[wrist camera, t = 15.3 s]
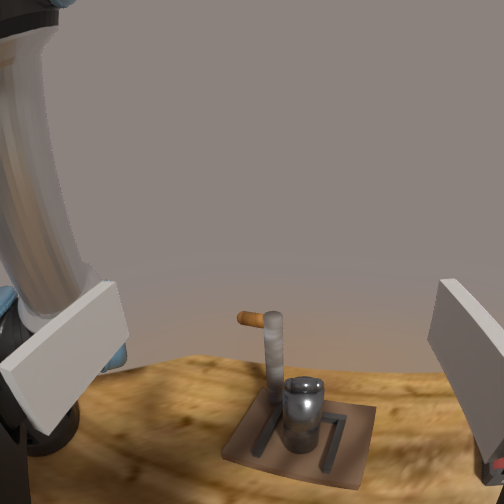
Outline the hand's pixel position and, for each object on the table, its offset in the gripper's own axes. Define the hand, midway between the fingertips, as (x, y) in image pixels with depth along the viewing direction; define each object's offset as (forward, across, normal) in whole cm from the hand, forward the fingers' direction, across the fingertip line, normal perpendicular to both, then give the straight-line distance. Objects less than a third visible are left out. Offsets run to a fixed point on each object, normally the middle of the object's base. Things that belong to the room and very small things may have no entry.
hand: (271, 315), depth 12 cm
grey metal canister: (+15, +1, -28) cm, 32 cm away
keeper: (+17, +2, -30) cm, 34 cm away
